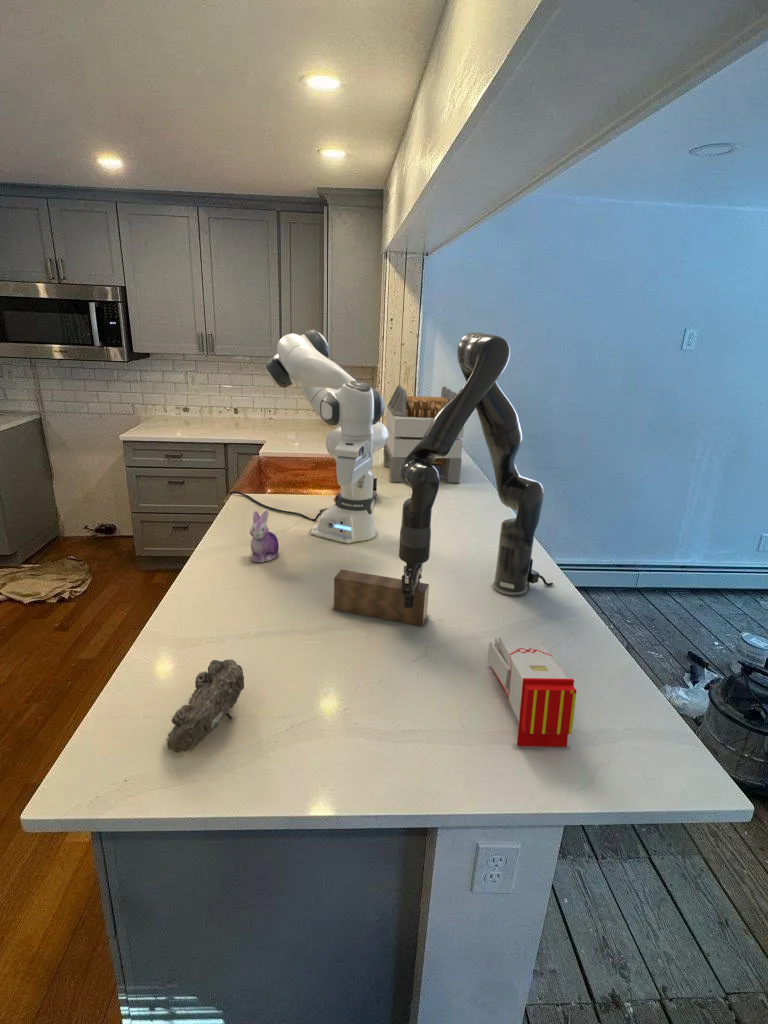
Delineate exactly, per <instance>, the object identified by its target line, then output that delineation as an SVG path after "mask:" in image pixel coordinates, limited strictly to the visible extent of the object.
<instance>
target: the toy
mask: <svg viewBox="0 0 768 1024" xmlns="http://www.w3.org/2000/svg"><path fill="white" fill-rule="evenodd" d="M488 643H489V644H488V651H487V658H486V659H487V662H488V664H489V666H490V668H491V669H492V672H493V674H494V675H495V677H496V679H497V681H498V682H499V684H500V687H501V688H502V691H503V692H504V694H505V697H507V699H508V702H509V705H510V706H511V709H512V710H513V713H514V714H515V717H516V720H517V721H518V728H517V729H518V730H517V741H516V746H517V747H520V748H521V747H522V748H523V747H525V748H527V747H529V748H531V747H532V748H533V747H534V748H545V747H546V748H567V747H568V740H569V735H572V733H573V725H574V716H575V708H576V700H577V689H576V687H575V686H574V685H575V679H574V678H569V677H568V676H567V675H566V673H565V672H564V670H563V669H562V668H561V667H560V665H559V663H558V662H557V661H556V659H555V658H554V656H553V654H552V653H551V652H550V650H549V649H548V648H547V646H546V644H545V642H544V641H543V640H542V639H541V638H540V636H534V635H533V636H532V635H530V636H527V635H526V636H525V635H524V636H523V635H498V637H497V636H496V637H494V643H493V641H489V642H488Z"/></svg>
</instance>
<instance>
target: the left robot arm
mask: <svg viewBox="0 0 768 1024" xmlns="http://www.w3.org/2000/svg"><path fill="white" fill-rule="evenodd" d="M276 352H277V353H276V354H275V355H274V356H271V357H270V358H269V359H268V361H267V362H266V365H265V369H266V372H267V375H268V377H269V379H270V381H271V382H272V383H273V384H275V385H277V386H279V388H283V389H285V388H289V387H290V386H292V385H293V384H294V383H295V382H296V383H298V384H299V385H298V386H299V387H300V390H301V392H302V393H303V395H304V396H305V398H306V400H307V401H308V403H309V404H310V406H311V407H312V409H313V410H314V411H315V412H316V414H317V415H318V417H319V418H320V419H321V421H322V422H323V423H324V424H325V425H327V426H329V427H332V428H334V429H333V430H331V431H330V432H329V433H328V434H327V436H326V438H325V447H326V451H327V453H328V454H329V456H330V457H331V458H333V459H334V460H335V467H336V468H335V469H336V471H335V472H336V482H337V484H338V486H340V490H339V491H338V492H337V494H336V495H335V496H334V497H333V502H334V504H333V505H331V506H329V507H326V508H322V509H320V510H319V513H317V515H316V516H315V518H310V517H309V516H307V515H305V514H303V513H300V512H295V511H289V510H285V509H284V510H283V509H279V508H276V507H271V506H269V505H266V504H263V503H262V502H259V500H258V501H257V500H256V499H254V498H253V497H252V496H250V495H248V494H245V493H243V492H240V491H238V490H232V491H230V492H229V495H232V494H238V495H241V496H243V497H246V498H248V499H249V500H250V501H252V502H254V503H255V504H257V505H259V506H261V507H263V508H266V509H269V510H272V511H275V512H279V513H285V514H290V515H296V516H300V517H303V518H305V520H306V519H307V520H308V521H312V522H315V521H317V520H318V521H317V523H315V524H314V525H313V526H312V528H311V530H310V533H311V536H315V537H319V538H323V539H326V540H330V541H336V542H339V543H343V544H352V543H357V542H365V541H368V540H372V539H373V538H375V537H376V535H377V532H376V528H375V523H374V513H373V512H374V509H375V499H374V496H373V478H374V473H373V471H372V469H373V464H374V458H373V456H374V455H373V454H374V453H376V452H378V451H380V450H381V449H384V446H385V445H386V443H387V441H388V431H387V429H386V425H385V424H384V423H383V422H381V421H380V420H381V418H382V417H383V415H384V414H385V409H386V404H385V401H384V398H383V396H382V394H380V392H378V390H377V389H375V388H373V387H372V386H371V385H370V384H368V383H366V382H364V381H361V380H359V379H358V378H357V377H356V376H355V375H353V374H352V373H351V372H350V371H349V370H347V369H346V368H345V367H343V366H341V365H339V364H338V363H337V362H335V361H332V360H331V359H330V348H329V343H328V341H327V338H326V337H325V336H324V335H323V334H322V333H320V331H319V332H318V331H317V330H316V329H308V330H307V331H304V332H303V333H302V334H301V335H299V334H297V333H288V334H285V335H283V336H282V337H281V338H280V339H279V341H278V343H277V347H276Z"/></svg>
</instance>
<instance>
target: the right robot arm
mask: <svg viewBox="0 0 768 1024" xmlns="http://www.w3.org/2000/svg"><path fill="white" fill-rule="evenodd" d="M456 352H457V361H458V366H459V368H460V370H461V372H462V375H463V377H464V380H465V381H466V382H465V384H464V385H463V386H462V387H461V388H460V390H459V391H458V392H456V395H455V396H454V397H453V398H452V399H451V400H450V401H448V402H447V403H446V404H445V405H444V406H443V407H442V408H441V409H440V410H439V411H438V413H437V414H436V415H435V417H434V418H433V420H432V422H431V424H430V425H429V427H428V429H427V431H426V433H425V435H424V437H423V439H422V440H421V441H420V442H419V444H418V445H417V446H416V447H415V448H414V449H413V450H412V451H411V453H410V454H409V455H408V456H407V457H406V459H405V460H404V462H403V464H402V466H401V469H400V479H401V481H402V482H401V483H403V485H405V486H406V487H408V488H409V489H411V497H409V498H407V499H406V500H404V502H403V504H402V509H401V510H402V511H401V525H400V531H399V546H398V558H399V559H400V560H401V561H402V562H404V563H405V564H406V565H404V566H403V574H402V575H401V579H402V595H404V607H405V608H410V609H411V608H412V607H413V598H414V590H415V586H417V583H418V582H420V583H421V579H423V568H424V564H425V563H426V562H428V561H429V559H430V554H431V553H430V551H431V550H430V549H431V539H432V529H431V528H432V526H431V525H432V509H433V506H434V504H435V501H436V498H437V495H438V493H439V489H440V482H441V481H440V474H439V473H440V472H439V471H438V468H437V467H436V466H432V465H431V464H432V463H433V462H434V461H435V459H437V458H443V457H445V456H447V454H448V453H449V451H450V450H451V448H452V446H453V444H454V442H455V440H456V439H457V437H458V435H459V433H460V431H461V429H462V428H463V426H464V427H465V424H466V423H467V421H468V419H469V418H470V417H471V415H472V414H473V413H474V411H475V410H476V413H477V416H478V419H479V422H480V426H481V427H480V428H481V430H482V434H483V437H484V440H485V443H486V446H487V449H488V453H489V456H490V460H491V465H492V469H493V472H494V478H495V485H496V489H497V490H496V491H497V494H498V495H497V496H498V498H499V500H500V502H501V503H502V505H504V506H505V507H507V508H509V509H511V510H515V511H516V516H515V518H508V519H505V520H503V521H502V522H501V525H500V531H499V532H500V533H499V539H498V540H499V541H498V548H497V549H498V551H497V558H496V565H495V566H496V567H495V575H494V581H493V589H494V590H495V591H496V592H498V593H500V594H502V595H506V596H513V597H516V596H517V597H518V596H523V595H525V594H526V593H527V592H528V590H530V584H532V585H533V584H536V583H539V580H540V579H541V580H542V582H543V584H544V585H545V586H547V587H549V586H550V587H551V586H553V585H554V583H553V582H547V580H546V579H545V577H544V576H542V575H540V573H539V572H538V571H536V570H535V569H533V562H534V559H533V558H532V554H533V547H534V540H535V533H536V530H537V528H538V525H539V521H540V517H541V512H542V507H543V503H544V497H545V495H544V494H545V492H544V487H543V484H542V483H540V482H539V481H537V480H535V479H531V478H528V477H525V476H522V475H521V474H520V473H519V471H518V469H517V468H518V467H517V464H516V456H517V455H518V452H519V450H520V448H521V445H522V442H523V431H522V429H521V424H520V419H519V416H518V413H517V412H516V409H515V408H514V406H513V404H512V403H511V401H510V399H508V397H507V396H506V395H505V393H504V392H503V391H502V389H501V387H500V386H499V384H498V383H497V380H498V379H499V378H500V376H501V375H502V374H503V372H504V371H505V369H506V367H507V365H508V363H509V361H510V356H511V348H510V344H509V342H508V340H506V339H505V338H504V337H502V336H499V335H495V334H489V333H483V332H477V331H476V332H474V331H473V332H468V333H466V334H465V335H464V336H462V338H461V339H460V340H459V343H458V346H457V351H456ZM413 581H414V583H413ZM407 589H409V590H407Z"/></svg>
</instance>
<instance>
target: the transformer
mask: <svg viewBox="0 0 768 1024" xmlns="http://www.w3.org/2000/svg"><path fill="white" fill-rule="evenodd" d="M440 393H441V394H440V396H415V395H414V396H413V395H412V396H411V395H407V394H408V393H407V390H406V389H404V388H403V387H402V385H399V384H398V385H397V386H396V388H395V390H394V392H393V394H392V395H391V398H390V400H389V402H388V404H387V405H386V413H385V414H386V415H385V423H386V425H385V427H386V429H387V431H388V441H387V443H386V445H385V446H384V447H383V466H384V467H388V468H389V475H388V476H389V477H388V478H389V480H390V482H391V483H403V482H402V481H401V479H400V469H401V466H402V464H403V462H404V460H405V459H406V457H407V456H408V455H409V454H410V453H411V451H412V450H413V449H414V448H415V447H416V446H417V445H418V444H419V442H420V441H421V440H422V439H423V437H424V435H425V433H426V431H427V429H428V427H429V425H430V424H431V422H432V420H433V418H434V417H435V415H436V414H437V413H438V411H439V410H440V409H441V408H442V407H443V406H444V405H445V404H446V403H447V402H448V401H450V400H451V399H452V398H453V397H454V396H455V395H456V394H457V392H455V391H453V390H452V389H451V388H447V386H442V387H441V392H440ZM464 429H465V425H464V426H463V428H462V429H461V431H460V433H459V435H458V437H457V439H456V440H455V442H454V444H453V446H452V448H451V450H450V451H449V453H448V454H447V456H445V457H443V458H437V459H435V461H434V462H433V463H432V464H431V465H432V466H434V467H436V469H437V470H438V469H439V471H438V472H439V473H440V474H441V475H443V478H444V479H445V481H446V482H447V483H449V484H455V483H456V484H459V483H461V472H462V461H463V460H462V453H463V442H464V441H463V440H462V439H463V438H464V431H465V430H464Z"/></svg>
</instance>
